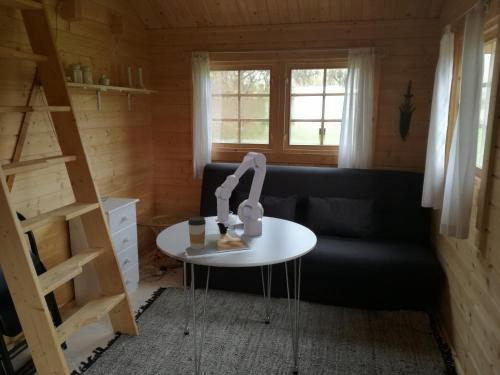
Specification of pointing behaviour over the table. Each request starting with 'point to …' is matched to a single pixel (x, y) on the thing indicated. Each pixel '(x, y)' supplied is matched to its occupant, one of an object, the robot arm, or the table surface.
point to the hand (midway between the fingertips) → (223, 236)
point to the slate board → (212, 242)
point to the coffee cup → (197, 232)
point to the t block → (228, 241)
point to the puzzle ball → (242, 207)
